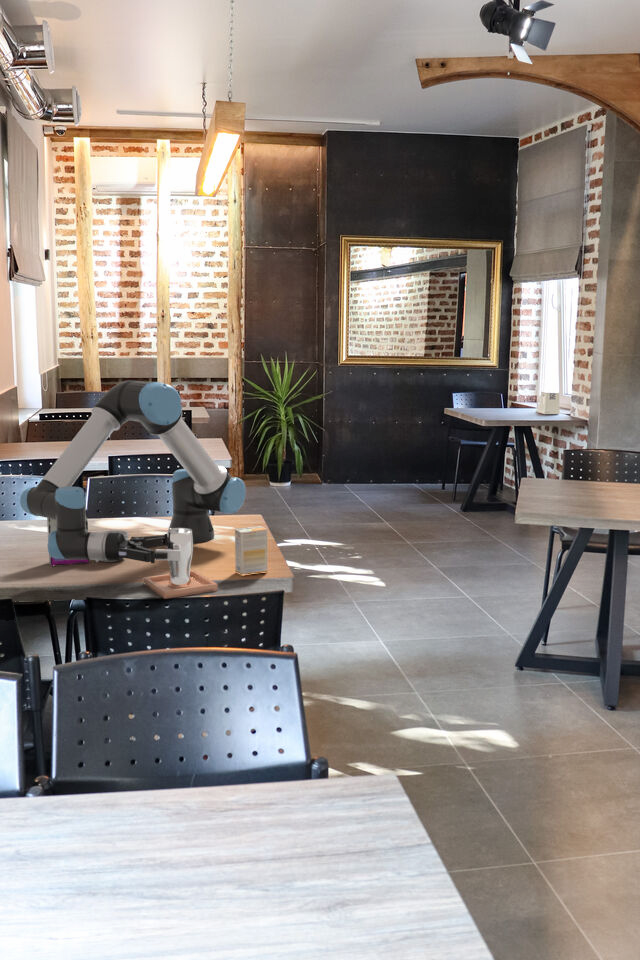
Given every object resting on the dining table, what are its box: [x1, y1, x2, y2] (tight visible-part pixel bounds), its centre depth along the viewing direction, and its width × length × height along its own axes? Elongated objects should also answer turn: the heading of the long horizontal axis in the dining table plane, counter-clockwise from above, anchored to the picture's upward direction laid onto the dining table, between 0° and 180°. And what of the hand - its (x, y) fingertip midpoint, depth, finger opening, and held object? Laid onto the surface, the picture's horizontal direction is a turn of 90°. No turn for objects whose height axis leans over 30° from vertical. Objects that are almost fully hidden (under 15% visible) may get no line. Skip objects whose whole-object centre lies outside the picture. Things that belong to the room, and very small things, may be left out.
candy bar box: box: [46, 506, 90, 567], centre depth 263 cm, size 11×5×16 cm, turn 114°
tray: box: [143, 569, 218, 600], centre depth 243 cm, size 15×15×2 cm
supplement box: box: [234, 525, 268, 575], centre depth 256 cm, size 8×5×13 cm, turn 117°
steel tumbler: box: [166, 528, 194, 588], centre depth 242 cm, size 7×7×15 cm
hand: (186, 548), depth 241 cm, fingers open, 13 cm apart
